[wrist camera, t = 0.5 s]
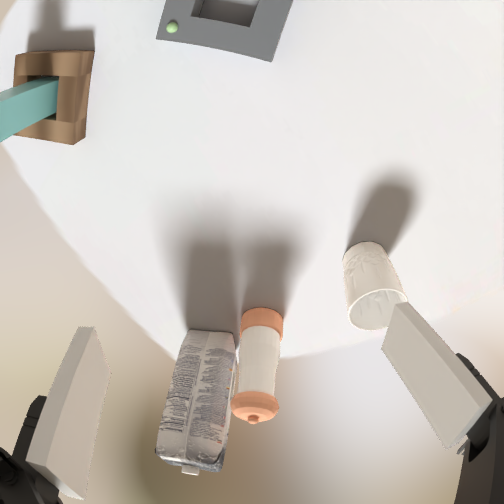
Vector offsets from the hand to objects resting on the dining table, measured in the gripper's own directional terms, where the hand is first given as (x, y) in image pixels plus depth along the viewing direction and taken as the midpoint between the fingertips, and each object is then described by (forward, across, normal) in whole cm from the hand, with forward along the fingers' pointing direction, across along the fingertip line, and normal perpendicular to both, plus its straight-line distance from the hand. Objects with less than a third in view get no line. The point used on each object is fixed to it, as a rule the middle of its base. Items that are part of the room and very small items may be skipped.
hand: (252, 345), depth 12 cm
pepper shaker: (+33, +6, -24) cm, 41 cm away
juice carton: (+37, -3, -31) cm, 48 cm away
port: (+22, +1, +23) cm, 32 cm away
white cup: (+26, +20, -10) cm, 34 cm away
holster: (+29, -22, +16) cm, 40 cm away
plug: (+29, -22, +16) cm, 40 cm away
